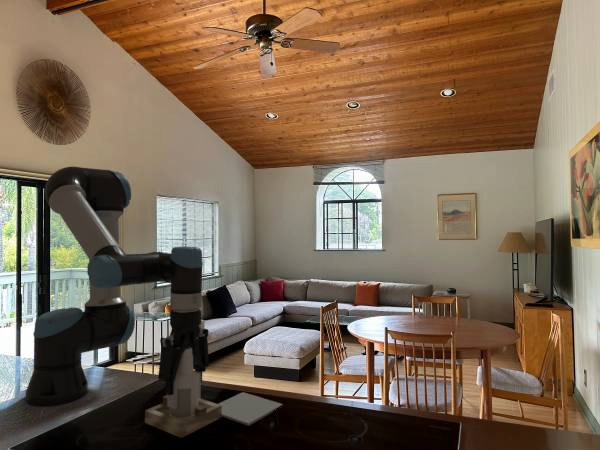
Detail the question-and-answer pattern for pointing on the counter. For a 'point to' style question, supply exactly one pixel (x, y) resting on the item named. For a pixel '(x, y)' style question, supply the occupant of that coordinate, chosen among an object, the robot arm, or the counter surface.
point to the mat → (247, 408)
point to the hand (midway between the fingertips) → (184, 401)
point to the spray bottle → (186, 387)
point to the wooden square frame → (202, 417)
